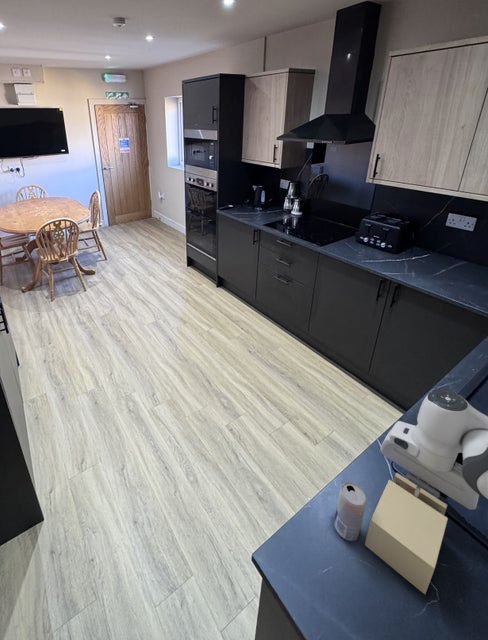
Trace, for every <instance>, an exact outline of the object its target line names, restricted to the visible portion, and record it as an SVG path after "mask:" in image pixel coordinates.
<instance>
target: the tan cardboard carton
mask: <svg viewBox="0 0 488 640" xmlns="http://www.w3.org/2000/svg"><path fill="white" fill-rule="evenodd" d="M448 520H449V519H448V517H447V516H445V514H444V515H442V514H441V513H439V512H438V511H436V510H435V509H433V508H432V507H430V506H429V505H427V504H426V503H424V502H422V501H421V500H419V499H418V498H416V497H415V496H413V495H412V494H410V493H409V492H407V491H406V490H404V489H403V488H401V487H400V486H398V485H397V484H395V483H394V482H393V481H392V480H391V479H388V481H387V483H386V486H385V488H384V490H383V492H382V494H381V496H380V499H379V501H378V503H377V505H376V507H375V509H374V512H373V514H372V516H371V518H370V522H369V526H368V529H367V534H366V536H365V537H366V538H365V542H364V546H365V547H366V548H367V549H369V550H370V551H371V552H373V553H374V554H375V555H376V556H377V557H379V558H380V559H381V560H382V561H383V562H385V564H387V565H388V566H390V567H391V568H392V569H393V570H394V571H395V572H397V573H398V574H399V575H400V576H402V578H404V579H405V580H407V581H408V582H409V583H410V584H411V585H412V586H414V587H415V588H416V589H417V590H419V591H420V592H421V593H422V594H424V595H426V594H427V592H428V588H429V585H430V583H431V580H432V577H433V575H434V572H435V569H436V565H437V563H438V558H439V555H440V552H441V551H440V550H441V547H442V544H443V543H442V542H443V539H444V536H445V532H446V528H447V524H448Z"/></svg>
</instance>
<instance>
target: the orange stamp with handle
mask: <svg viewBox="0 0 488 640" xmlns="http://www.w3.org/2000/svg"><path fill="white" fill-rule="evenodd" d="M420 489H421V487H420V486H418V485H417V487H416V489H415V493H414V496H415V497H416V498H418V496H419V493H420Z"/></svg>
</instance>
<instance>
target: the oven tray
mask: <svg viewBox="0 0 488 640" xmlns="http://www.w3.org/2000/svg"><path fill="white" fill-rule="evenodd" d="M419 479H420V478H419ZM419 479H418V478H416V477H414V476H413V475H411V472H409V471H407V472H406V473H405V476H404V475H401V474H400V473H398V472H395V474H394V478H393V481H392V482H394V483H395V484H397V485H398V486H400V487H401V488H403V489H404V490H406V491H407V492H409V493H410V494H412V495H413V496H414V493H415V489H416V487H417V485H418V486H420V487H421V489H420V493H419V496H418V499H419V500H421V501H422V502H424V503H426V504H427V505H429V506H430V507H432V508H433V509H435V510H436V511H438V512H439V513H441V514H442V515H444V516H445V514H446V512H447V508H448V504H447V503H445V502H444V501H442V500H440V499H439V498H440V495H441V491H439V490H438V489H436V488H435V489H434V488H432V487H430V486H429V485H427V482H425V481H423V480H422V479H420V480H419ZM422 481H423V482H422Z"/></svg>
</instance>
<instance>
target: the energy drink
mask: <svg viewBox="0 0 488 640" xmlns="http://www.w3.org/2000/svg"><path fill="white" fill-rule="evenodd" d="M366 506H367V498H366V494H365V492H364V490H363V489H362V488H361V486H359V485H358V484H356V483H354V482H350V481H347V482H344V483H343V484H342V485H341V487H340V488H339V493H338V499H337V504H336V508H335V513H334V514H335V515H334V519H333V524H334V528H335V531H336V532H337V533H338V534H339V536H340V537H342V538H343V539H344V540H345V541H346V540H347V541H350V542H354V541H356V540H358V539H359V535H360V531H361V526H362V523H363V520H364V519H363V518H364V513H365V510H366Z"/></svg>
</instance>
